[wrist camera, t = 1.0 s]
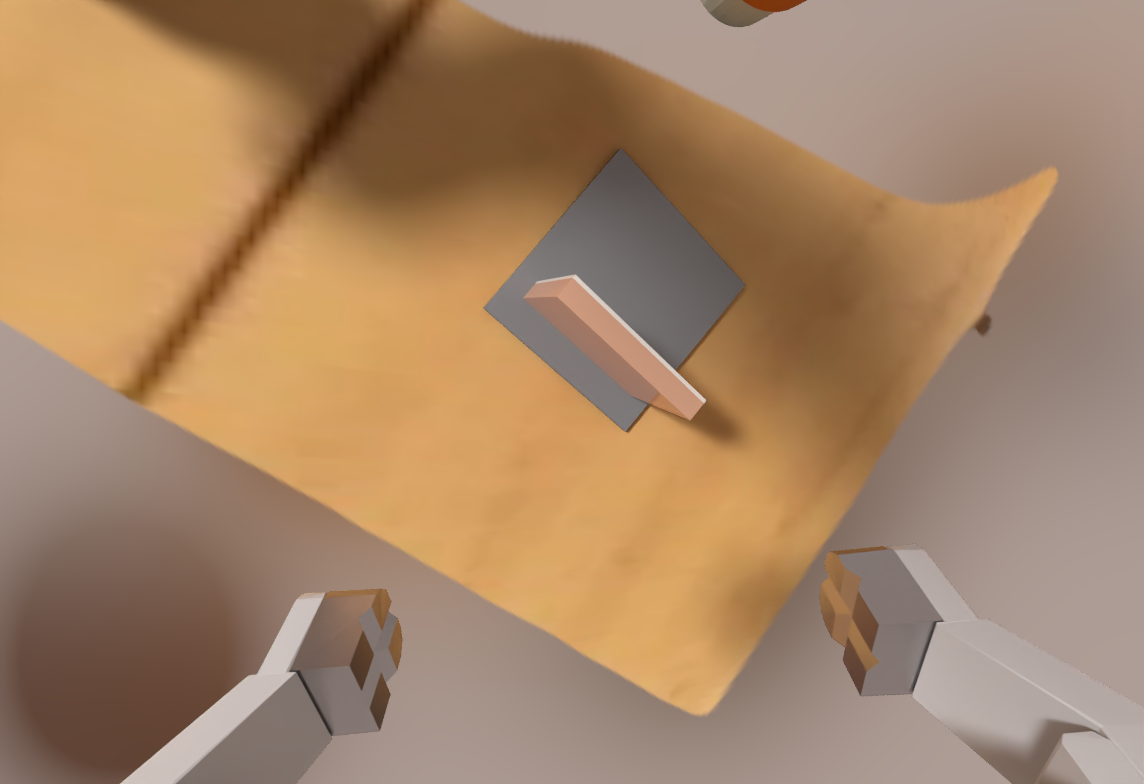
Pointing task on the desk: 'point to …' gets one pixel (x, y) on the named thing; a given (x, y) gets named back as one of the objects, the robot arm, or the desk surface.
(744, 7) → the reusable coffee cup
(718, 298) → the mat
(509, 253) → the desk surface
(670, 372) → the tile
